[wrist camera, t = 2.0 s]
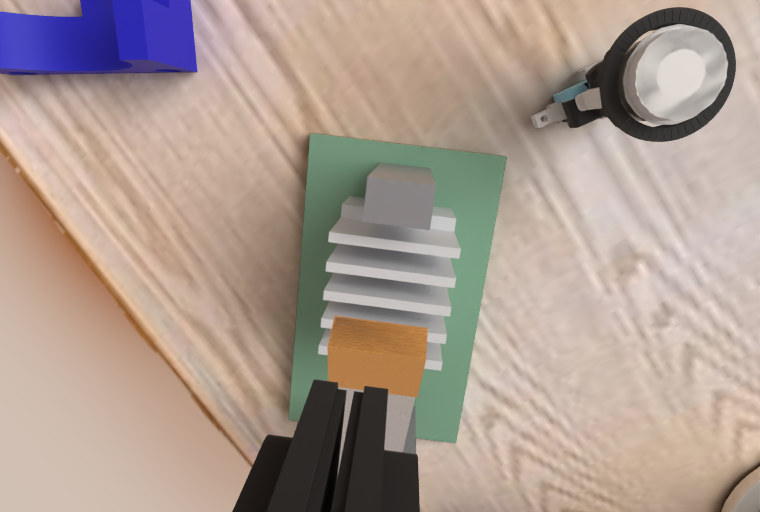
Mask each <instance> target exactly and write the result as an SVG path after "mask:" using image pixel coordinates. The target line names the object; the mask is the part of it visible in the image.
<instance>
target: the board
mask: <svg viewBox="0 0 760 512" xmlns="http://www.w3.org/2000/svg"><path fill="white" fill-rule="evenodd" d="M506 159H507V157H505V156H499V155H491V154H482V153H474V152H466V151H457V150H449V149H441V148H432V147H424V146H416V145H407V144H399V143H391V142H382V141H374V140H366V139H357V138H349V137H341V136H332V135H324V134H316V133H310V142H309V155H308V168H307V181H306V195H305V208H304V221H303V234H302V247H301V261H300V274H299V287H298V300H297V313H296V327H295V340H294V353H293V366H292V379H291V392H290V406H289V419H288V420H292V421H299V419H300V416H301V414H302V411H303V408H304V405H305V402H306V400H307V397H308V394H309V391H310V388H311V386H312V383H313V380H314V379H316V380H323V381H328V352H327V347H328V342H329V338H330V334H331V329H332V325H333V321H334V316H342V317H349V318H357V319H365V320H372V321H380V322H387V323H395V324H402V325H410V326H417V327H425V328H428V335H427V352H426V363H425V367H424V371H423V375H422V380H421V384H420V388H419V392H418V397H417V398H416V397H415V401H414V405H413V410H412V414H411V418H410V423H409V427H408V431H407V436H406V440H405V445H404V449H403V452H404V453H411V454H416V438H420V439H427V440H434V441H442V442H449V443H456V440H457V434H458V429H459V423H460V417H461V412H462V406H463V401H464V395H465V389H466V384H467V378H468V373H469V367H470V361H471V356H472V350H473V344H474V339H475V333H476V328H477V322H478V316H479V311H480V305H481V300H482V294H483V288H484V283H485V277H486V271H487V266H488V260H489V255H490V249H491V243H492V238H493V232H494V227H495V221H496V215H497V210H498V204H499V198H500V193H501V187H502V182H503V176H504V170H505V165H506Z"/></svg>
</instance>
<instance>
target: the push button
mask: <svg viewBox="0 0 760 512" xmlns="http://www.w3.org/2000/svg"><path fill="white" fill-rule="evenodd" d="M651 30H656V31H655V32H653V33H652V34H650V35H649V36H647V37H646V38H644V39H643V40H642V41H639V42H637V43H634V42H635V41H636V40H637V39H638V38H639V37H641V36H642V35H643V34H644V33H646V32H648V31H651ZM633 43H634V44H633ZM632 44H633V45H632ZM631 45H632V46H631ZM584 70H585V72H586V74H585V76H586V80H584V81H581V82H579V83H577V84H575V85H573V86H571V87H569V88H567V89H565V90H563V91H561V92H558V93H556V94H554V95H553V98H554V101H555V102H554V103H552V104H550V105H547V109H545V110H543V111H541V112H539V113H536V114H534V115H532V116H531V120H532V123H533V126H534V128H542V127H544V126H546V125H548V124H550V123H552V122H553V123H554V122H557V123H558V122H561V121H562V122H568V125H569V127H570V128H577V127H580V126H582V125H585V124H587V123H589V122H591V121H593V120H595V119H601V118H602V119H603V118H605V117H608V118H609V119H610V121H611V122H612V123H613V124H614V125H615V126H616V127H618V128H620V129H621V130H622V131H623V132H625V133H626V134H628V135H630V136H632V137H635V138H637V139H641V140H645V141H653V142H665V141H672V140H677V139H680V138H683V137H686V136H688V135H690V134H692V133H694V132H696V131H698V130H699V129H701V128H702V127H703V126H705V125H706V124H707V123H708V122H709V121H711V120H712V119H713V118H714V117H715V115H716V114H717V113H718V112H719V111H720V109H721V108H722V107H723V105H724V103H725V102H726V100H727V98H728V96H729V94H730V91H731V89H732V86H733V82H734V78H735V71H736V59H735V52H734V48H733V45H732V42H731V40H730V37H729V36H728V34H727V32H726V31H725V29H724V28H723V27H722V26H721V25H720V24H719V23H718V22H717V21H716V20H715V19H714V18H712V17H711V16H709V15H708V14H706V13H704V12H701V11H699V10H695V9H691V8H683V7H676V8H667V9H663V10H659V11H656V12H653V13H651V14H649V15H647V16H645V17H643V18H641V19H639V20H637V21H636V22H634V23H633V24H632V25H630V26H629V27H628V28H627V29H626V30H625V31H624V32H623V33H622V34H621V35H620V36H619V37H618V38H617V39H616V41H615V42H614V44H613V45H612V47H611V49H610V50H609V51H608V52H607V53H606V54H605V57H604V59H603V60H602V61H599V62H596V63H593V64H591V65H589V66H587V67H585V68H583V69H581V70H579V71H577V72H581V71H584ZM542 116H543V117H544V120H543V122H542V121H541V117H542ZM636 120H637V121H636ZM638 121H649V122H651V123H653V124H657V125H660V126H657V127H650V126H647V125H644V124H642V123H640V122H638Z"/></svg>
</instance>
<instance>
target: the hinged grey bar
mask: <svg viewBox="0 0 760 512" xmlns="http://www.w3.org/2000/svg"><path fill="white" fill-rule="evenodd" d="M427 335H428V328H425V327H417V326H410V325H402V324H395V323H387V322H380V321H372V320H365V319H357V318H349V317H342V316H334V321H333V325H332V329H331V334H330V338H329V342H328V347H327V352H328V381H331V382H338V389H342V390H347V392H346V402H345V412H344V421H343V430H342V439H341V449H340V458H339V467H340V462H341V457H342V451H343V446H344V441H345V436H346V430H347V425H348V420H349V415H350V410H351V404H352V399H353V394H354V391H357V392H364V386H370V387H378V388H385V389H388V401H387V417H386V432H385V447H384V450H388V451H396V452H403V449H404V445H405V440H406V436H407V431H408V427H409V423H410V418H411V414H412V410H413V405H414V401H415V397H416V398H417V397H418V392H419V388H420V384H421V380H422V375H423V371H424V367H425V363H426V352H427ZM339 467H338V472H339ZM337 477H338V476H337Z"/></svg>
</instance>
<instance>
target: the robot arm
mask: <svg viewBox="0 0 760 512" xmlns="http://www.w3.org/2000/svg"><path fill="white" fill-rule="evenodd" d="M346 392H347V390H342V389H338V382H331V381H323V380H316V379H314V380H313V383H312V386H311V388H310V391H309V394H308V397H307V400H306V402H305V405H304V408H303V411H302V414H301V416H300V419H299V422H298V425H297V428H296V430H295V433H294V436H293V438H289V437H282V436H274V435H267V436H266V438H265V440H264V442H263V444H262V446H261V448H260V451H259V453H258V455H257V457H256V460H255V462H254V464H253V467H252V469H251V471H250V473H249V476H248V478H247V480H246V482H245V485H244V487H243V489H242V491H241V494H240V496H239V498H238V500H237V503H236V505H235V507H234V509H233V512H420V506H419V478H418V456H417V454H411V453H404V452H396V451H388V450H384V447H385V432H386V417H387V401H388V389H385V388H378V387H370V386H364V392H357V391H354V394H353V399H352V404H351V410H350V415H349V420H348V425H347V430H346V436H345V441H344V446H343V451H342V457H341V462H340V467H339V458H340V449H341V439H342V430H343V421H344V412H345V402H346ZM338 467H339V472H338ZM337 476H338V477H337ZM721 512H760V467H758V468H757V469H755V470H754V471H753V472H751V473H750V474H749V475H747V476H746V477H745V478H744V479H743V480H742V481H741V482H740V483H739V484H738V485H737V486H736V487H735V488H734V490H733V491H732V492H731V494H730V495H729V497H728V498H727V500H726V501H725V504H724V506H723V508H722V511H721Z"/></svg>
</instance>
